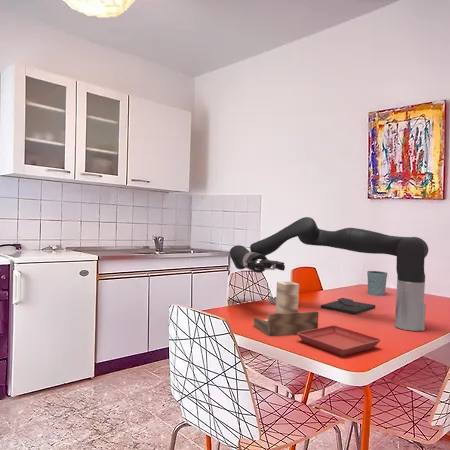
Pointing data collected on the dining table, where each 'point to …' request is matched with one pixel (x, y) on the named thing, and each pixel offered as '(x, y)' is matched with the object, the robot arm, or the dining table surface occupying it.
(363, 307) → the picture frame
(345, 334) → the plant saucer
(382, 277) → the grey-blue cup
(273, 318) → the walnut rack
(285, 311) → the birch block
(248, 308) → the dining table surface
